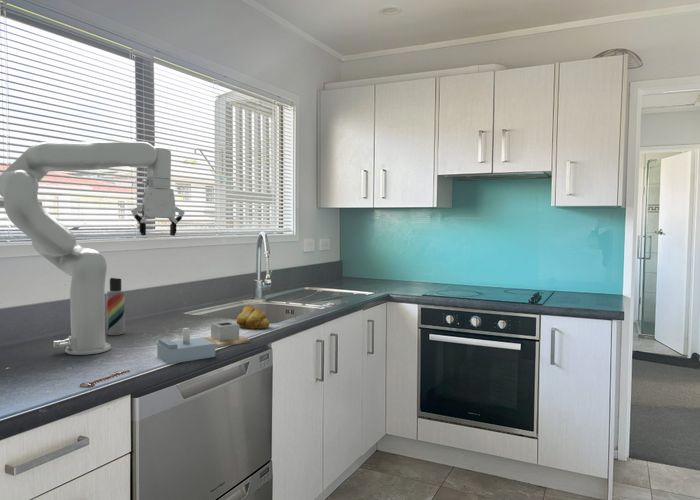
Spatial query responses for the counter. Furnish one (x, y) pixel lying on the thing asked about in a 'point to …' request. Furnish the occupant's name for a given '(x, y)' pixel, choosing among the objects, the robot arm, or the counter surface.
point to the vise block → (185, 349)
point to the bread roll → (252, 318)
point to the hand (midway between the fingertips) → (158, 235)
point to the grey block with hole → (224, 331)
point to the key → (103, 379)
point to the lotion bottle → (115, 308)
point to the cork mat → (225, 343)
